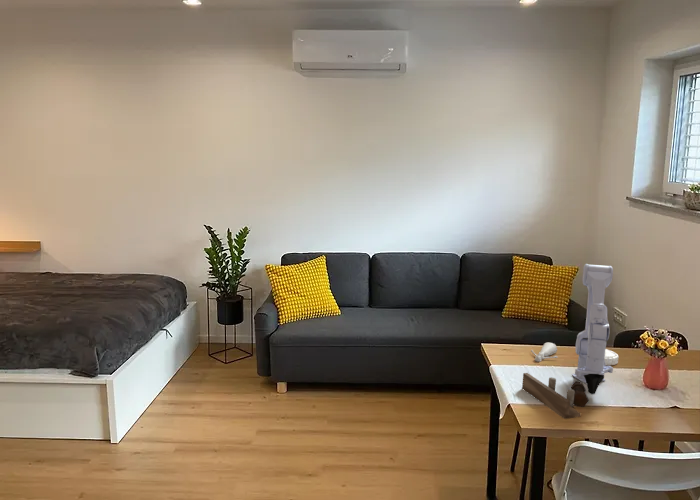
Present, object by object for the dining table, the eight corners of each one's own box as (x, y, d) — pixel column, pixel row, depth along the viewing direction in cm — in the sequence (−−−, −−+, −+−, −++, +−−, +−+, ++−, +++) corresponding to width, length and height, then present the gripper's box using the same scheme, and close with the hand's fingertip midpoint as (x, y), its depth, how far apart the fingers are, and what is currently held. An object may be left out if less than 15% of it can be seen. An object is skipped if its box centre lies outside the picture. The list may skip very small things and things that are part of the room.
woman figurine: (566, 344, 254) (551, 358, 240) (565, 353, 255) (550, 368, 241) (539, 337, 260) (523, 351, 247) (538, 347, 262) (522, 361, 248)
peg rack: (541, 386, 220) (543, 370, 219) (585, 415, 198) (587, 398, 196) (521, 388, 217) (523, 373, 216) (564, 418, 195) (566, 401, 194)
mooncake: (584, 361, 246) (585, 353, 246) (588, 353, 257) (589, 345, 256) (616, 368, 241) (617, 359, 240) (619, 358, 251) (620, 350, 250)
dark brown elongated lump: (578, 394, 219) (580, 410, 204) (566, 386, 219) (568, 401, 205) (588, 382, 217) (591, 398, 203) (576, 374, 218) (578, 389, 204)
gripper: (586, 362, 204) (582, 399, 206) (620, 359, 208) (616, 395, 211) (572, 355, 210) (568, 391, 213) (606, 351, 215) (602, 387, 217)
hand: (591, 393), depth 212 cm, fingers closed
